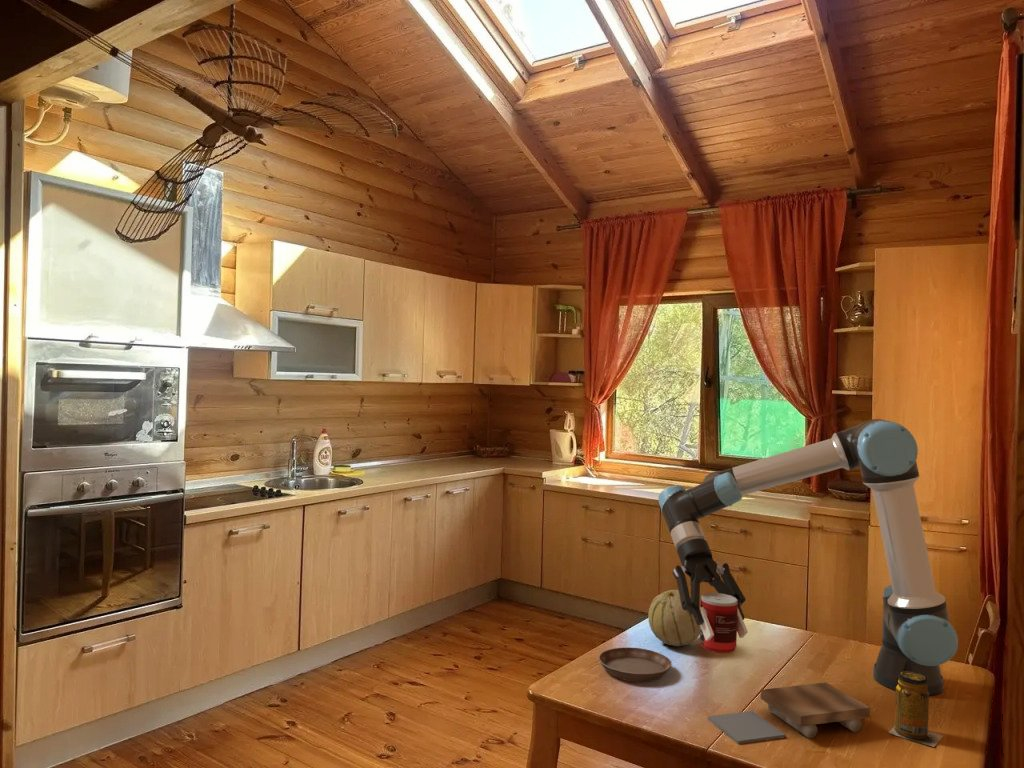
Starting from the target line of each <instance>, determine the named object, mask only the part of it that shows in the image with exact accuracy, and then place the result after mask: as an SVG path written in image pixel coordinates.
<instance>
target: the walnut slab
mask: <svg viewBox="0 0 1024 768" xmlns="http://www.w3.org/2000/svg"><path fill="white" fill-rule="evenodd" d="M760 700H762V701H763V702H764V703H766V704H767V709H768V710H769V712H770V713H772V714H774V715H775V716H776V717H778V718H779V719H780V720H782V721H784V723H787V724H788V725H789V726H791V727H792V728H793V729H795V730H797V732H799V733H801V734H802V735H803V736H804V737H806V738H807V739H813V738H815V737H816V735H817V733H818V726H817V725H819V724H829V723H835V722H837V723H839V724H840V725H841V726H844V728H846V729H848V730H849V731H850V732H853V733H857V732H859V731H860V730H861V728H862V725H863V723H862V720H861V719H865V718H866V719H867V718H870V714H871V707H870V706H868V705H867V704H865V703H863V702H861V701H860V700H857V699H856V698H854V697H853V696H851V695H849V694H847V693H846V692H844V691H842V690H841V689H839V688H837V687H835V686H833V685H832V684H830V683H829V682H817V683H808V684H800V685H799V684H798V685H793V686H792V685H791V686H783V687H780V686H779V687H773V688H772V687H771V688H763V689H761V690H760Z"/></svg>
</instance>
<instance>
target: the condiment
mask: <svg viewBox="0 0 1024 768" xmlns="http://www.w3.org/2000/svg"><path fill="white" fill-rule="evenodd" d="M927 682H928V681H927V678H926V677H924V676H923V675H921V674H918V673H914V672H901V673H900V674H899V680H898V683H899V684H898V685H897V687H896V690H895V709H894V710H895V711H894V713H895V714H894V715H895V716H894V726H893V727H892V728H891V729H890V730H889V731H888V732H887V733H888V734H891V735H894V736H895V737H899V738H902V739H904V740H905V739H906V740H908V741H914V742H916V743H919V744H921V745H922V744H923V745H926V746H929V747H933V748H935V746H937V745H938V744H939V742H940V741H941V739H942V738H943V737H944V734H940V733H936V732H934V731H930V730H929V710H930V709H929V705H930V695H929V692H928V691H927V688H928V687H927ZM939 740H940V741H939Z"/></svg>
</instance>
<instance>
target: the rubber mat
mask: <svg viewBox="0 0 1024 768" xmlns="http://www.w3.org/2000/svg"><path fill="white" fill-rule="evenodd" d="M707 720H708V721H710V722H711V723H712V724H713V725H715V726H716V727H717V728H718V729H720V730H721V731H722V732H723V733H724V734H725V735H726V736H728V737H729V738H730V739H731V740H733V742H735V743H736V744H737V745H741V744H747V743H755V741H757V742H762V740H764V741H768V740H767V739H771V740H778V739H785V738H786V734H785V733H784V732H782V731H781V730H780V729H778V728H777V727H775V726H774V725H773V724H771V723H770V722H769V721H768V720H766V719H765V718H763V717H762V716H760V715H759V714H758V713H756V712H755V711H754V710H749V711H741V712H734V713H733V712H731V713H724V714H716V715H715V714H713V715H708V716H707ZM776 738H778V739H776Z"/></svg>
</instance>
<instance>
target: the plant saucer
mask: <svg viewBox="0 0 1024 768" xmlns="http://www.w3.org/2000/svg"><path fill="white" fill-rule="evenodd" d="M598 660H599V662H600V664H601V666H602V668H604V670H605V671H606V672H607V673H608V674H609V675H611V677H612V676H613V677H614V678H617V679H620V680H623V681H628V682H635V683H637V682H638V683H639V682H640V683H645V682H646V683H647V682H654V681H658V680H660V679H662V678H663V677H664V676H665V675H666V674H667V673H668V672H669V671H670V669H671V667H672V665H673V664H672V660H671V659H670V658H669V657H668V656H666V655H664V654H662V653H660V652H658V651H654V650H651V649H646V648H640V647H616V648H614V647H613V648H609V649H607V650H604V651H603V652H600V654H599V655H598Z"/></svg>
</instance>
